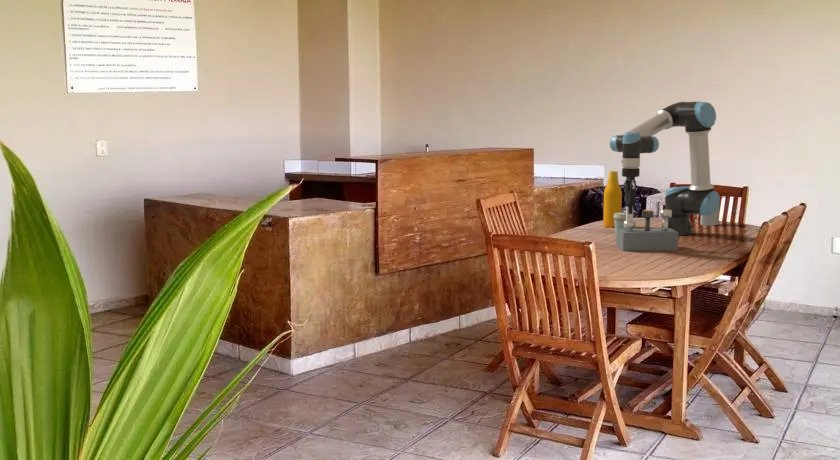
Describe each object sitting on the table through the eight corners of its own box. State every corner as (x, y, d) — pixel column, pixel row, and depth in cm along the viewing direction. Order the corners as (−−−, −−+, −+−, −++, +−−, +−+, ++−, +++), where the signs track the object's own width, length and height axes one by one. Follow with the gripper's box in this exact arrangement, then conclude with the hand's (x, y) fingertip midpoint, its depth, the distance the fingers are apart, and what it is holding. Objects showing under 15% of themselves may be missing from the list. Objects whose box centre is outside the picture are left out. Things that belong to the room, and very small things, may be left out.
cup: (720, 225, 454) (721, 203, 453) (703, 226, 454) (704, 203, 453) (715, 223, 463) (716, 201, 462) (698, 223, 463) (698, 201, 462)
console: (669, 245, 393) (670, 228, 392) (677, 250, 382) (678, 232, 380) (616, 246, 393) (617, 228, 392) (623, 250, 381) (623, 232, 380)
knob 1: (633, 245, 390) (633, 220, 388) (635, 247, 385) (636, 222, 383) (622, 246, 390) (622, 220, 388) (624, 247, 385) (625, 222, 383)
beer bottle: (599, 226, 458) (600, 171, 454) (614, 224, 462) (615, 170, 458) (610, 228, 450) (611, 172, 446) (624, 227, 453) (626, 171, 449)
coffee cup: (631, 239, 412) (632, 214, 410) (613, 239, 414) (613, 214, 412) (630, 236, 420) (631, 212, 419) (612, 236, 422) (613, 212, 420)
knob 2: (669, 235, 389) (669, 209, 388) (672, 236, 384) (673, 210, 383) (658, 235, 389) (658, 209, 387) (661, 236, 384) (661, 211, 383)
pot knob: (651, 235, 389) (652, 209, 387) (654, 236, 384) (655, 211, 383) (640, 235, 389) (640, 209, 387) (643, 237, 384) (643, 211, 383)
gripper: (618, 166, 389) (617, 219, 392) (625, 168, 376) (624, 222, 379) (635, 166, 389) (634, 218, 392) (643, 168, 376) (641, 222, 379)
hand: (629, 220), depth 386 cm, fingers closed
